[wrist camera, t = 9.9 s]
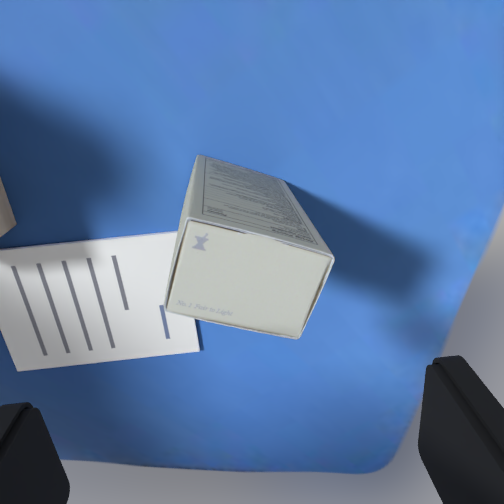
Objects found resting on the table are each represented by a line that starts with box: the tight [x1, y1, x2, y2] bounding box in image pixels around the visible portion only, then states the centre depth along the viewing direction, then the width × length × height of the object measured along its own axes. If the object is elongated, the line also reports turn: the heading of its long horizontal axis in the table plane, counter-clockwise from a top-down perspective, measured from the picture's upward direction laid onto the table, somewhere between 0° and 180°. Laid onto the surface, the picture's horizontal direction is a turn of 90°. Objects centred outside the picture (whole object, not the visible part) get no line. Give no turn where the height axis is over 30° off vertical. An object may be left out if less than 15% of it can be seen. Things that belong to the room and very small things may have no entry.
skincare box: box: [164, 155, 335, 339], centre depth 22 cm, size 6×4×12 cm
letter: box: [0, 231, 200, 372], centre depth 30 cm, size 14×10×1 cm
